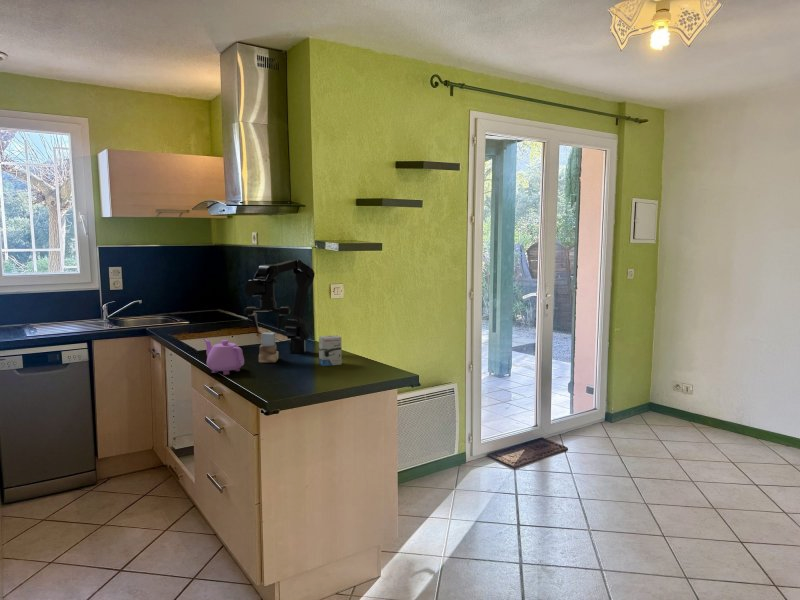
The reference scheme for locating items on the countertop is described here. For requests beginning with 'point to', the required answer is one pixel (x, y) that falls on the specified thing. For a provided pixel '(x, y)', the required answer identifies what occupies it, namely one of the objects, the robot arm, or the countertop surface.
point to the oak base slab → (268, 358)
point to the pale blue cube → (267, 339)
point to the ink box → (330, 350)
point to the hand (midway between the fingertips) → (268, 330)
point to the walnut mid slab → (267, 350)
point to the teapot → (224, 357)
